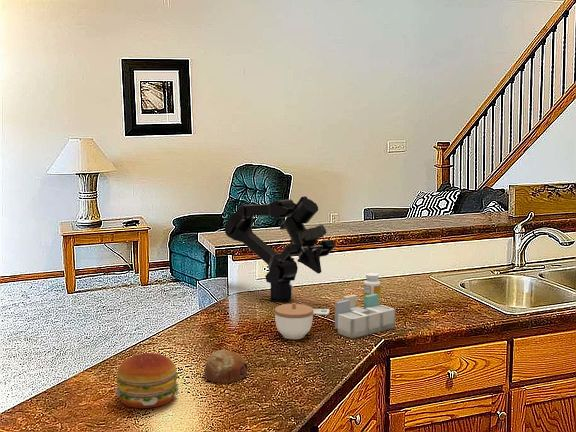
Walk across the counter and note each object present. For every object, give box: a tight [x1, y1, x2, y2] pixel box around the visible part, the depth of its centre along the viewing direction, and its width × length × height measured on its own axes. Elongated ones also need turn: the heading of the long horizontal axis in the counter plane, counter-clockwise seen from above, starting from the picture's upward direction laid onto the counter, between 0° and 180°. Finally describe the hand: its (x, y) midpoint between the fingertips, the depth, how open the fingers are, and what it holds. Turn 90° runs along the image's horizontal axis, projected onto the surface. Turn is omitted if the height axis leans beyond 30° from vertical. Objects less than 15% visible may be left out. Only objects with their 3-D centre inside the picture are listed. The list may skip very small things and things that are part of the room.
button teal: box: [363, 294, 390, 311], centre depth 206 cm, size 7×4×8 cm, turn 38°
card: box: [313, 308, 330, 316], centre depth 220 cm, size 8×5×1 cm, turn 83°
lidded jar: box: [274, 302, 314, 340], centre depth 196 cm, size 11×11×9 cm
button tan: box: [342, 294, 369, 315], centre depth 205 cm, size 7×4×8 cm, turn 38°
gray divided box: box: [337, 304, 397, 339], centre depth 202 cm, size 6×17×6 cm, turn 127°
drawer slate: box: [334, 299, 360, 330], centre depth 199 cm, size 7×4×8 cm, turn 38°
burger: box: [114, 352, 179, 409], centre depth 152 cm, size 14×14×10 cm
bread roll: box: [203, 349, 249, 384], centre depth 167 cm, size 10×10×8 cm
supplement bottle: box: [362, 272, 381, 305], centre depth 230 cm, size 5×5×10 cm
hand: (319, 272), depth 218 cm, fingers closed
